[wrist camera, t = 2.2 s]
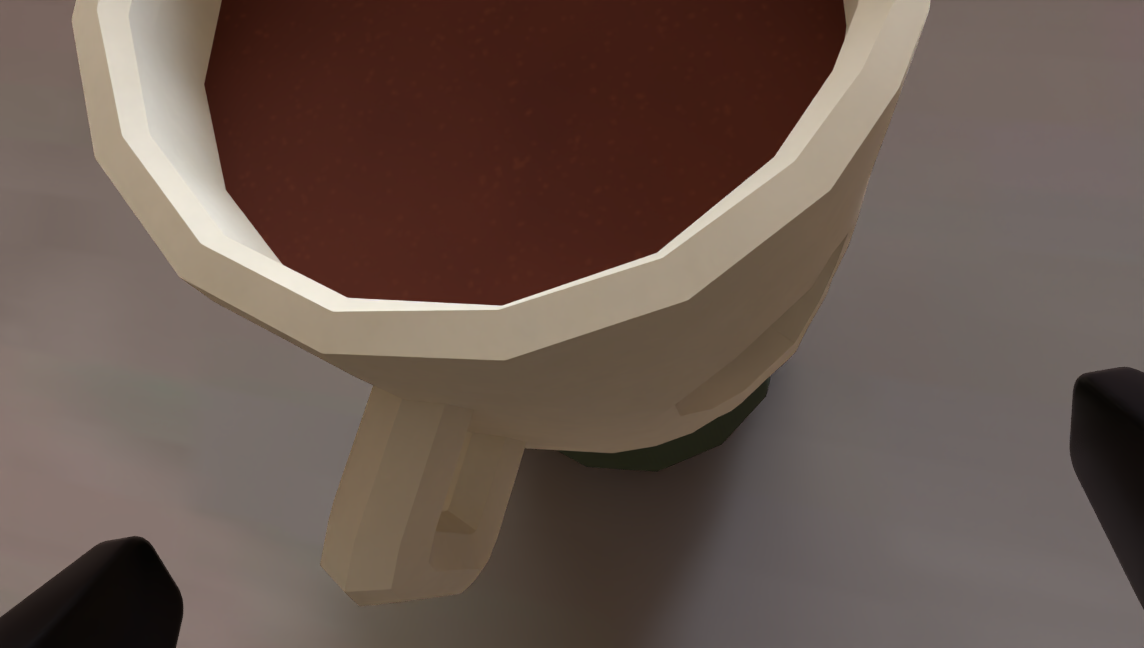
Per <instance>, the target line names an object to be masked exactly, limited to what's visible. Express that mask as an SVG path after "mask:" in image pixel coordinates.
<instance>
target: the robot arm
mask: <svg viewBox="0 0 1144 648" xmlns="http://www.w3.org/2000/svg"><path fill="white" fill-rule="evenodd" d="M1070 456H1071V460H1072V464H1073V467H1074V470H1075V473H1076V475H1077V477H1078V479H1079V481H1080V483H1081V485H1082V487H1083V489H1084V491H1085V493H1086V495H1087V497H1088V499H1089V501H1090V503H1091V505H1092V507H1093V509H1094V511H1095V513H1096V515H1097V517H1098V519H1099V521H1100V523H1101V525H1102V527H1103V529H1104V531H1105V533H1106V535H1107V537H1108V539H1109V541H1110V543H1111V545H1112V547H1113V549H1114V551H1115V554H1116V556H1117V558H1118V560H1119V562H1120V564H1121V566H1122V568H1123V570H1124V572H1125V574H1126V576H1127V578H1128V580H1129V582H1130V584H1131V586H1132V588H1133V590H1134V592H1135V594H1136V596H1137V598H1138V600H1139V601H1140V603H1141V605H1142V607H1143V609H1144V372H1141V371H1139V370H1136V369H1133V368H1130V367H1118V368H1112V369H1106V370H1101V371H1095V372H1089V373H1084V374H1082V375H1081V376H1080V377H1079V378H1077V380H1076V382H1075V384H1074V388H1073V400H1072V416H1071V432H1070ZM182 618H183V600H182V596H181V593H180V590H179V588H178V587H177V585H176V583H175V582H174V580H173V579H172V577H171V575H170V574H169V572H168V570H167V569H166V567H165V566H164V564H163V562H162V561H161V559H160V557H159V556H158V554H157V553H156V551H155V549H154V548H153V546H152V545H151V544H150V542H149V541H147V540H146V539H144V538H142V537H138V536H133V537H127V538H121V539H115V540H109V541H105V542H102V543H100V544H98V545H96V546H94V547H93V548H92V549H90V550H89V551H88V552H86V553H85V554H84V555H82V556H81V557H80V558H79V559H77V560H76V561H75V562H73V563H72V564H71V565H69V566H68V567H67V568H65V569H64V570H63V571H61V572H60V573H59V574H57V575H56V576H55V577H53V578H52V579H51V580H49V581H48V582H47V583H45V584H44V585H43V586H41V587H40V588H39V589H37V590H36V591H35V592H33V593H32V594H31V595H29V596H28V597H27V598H25V599H24V600H23V601H21V602H20V603H19V604H17V605H16V606H15V607H13V608H12V609H11V610H9V611H8V612H7V613H5V614H4V615H3V616H1V617H0V648H176V645H177V640H178V636H179V631H180V627H181V622H182Z"/></svg>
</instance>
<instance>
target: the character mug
mask: <svg viewBox="0 0 1144 648" xmlns="http://www.w3.org/2000/svg"><path fill="white" fill-rule="evenodd" d="M929 9H930V0H76V4H75V8H74V12H73V16H72V25H73V31H74V37H75V43H76V49H77V55H78V61H79V66H80V72H81V78H82V84H83V90H84V96H85V102H86V108H87V114H88V120H89V126H90V131H91V137H92V143H93V149H94V155H95V159H96V160H97V161H98V163H99V164H100V166H101V167H102V168H103V170H104V171H105V173H106V174H107V175H108V177H109V178H110V180H111V181H112V183H113V184H114V185H115V187H116V188H117V190H118V191H119V192H120V194H121V195H122V197H123V198H124V199H125V201H126V202H127V204H128V205H129V206H130V208H131V209H132V211H133V212H134V214H135V215H136V216H137V218H138V219H139V221H140V222H141V223H142V225H143V226H144V228H145V229H146V230H147V232H148V233H149V235H150V236H151V238H152V239H153V240H154V242H155V243H156V245H157V246H158V247H159V249H160V250H161V252H162V253H163V254H164V256H165V257H166V259H167V260H168V262H169V263H170V264H171V266H172V267H173V269H174V270H175V271H176V273H177V274H178V276H179V277H180V278H181V279H183V280H184V281H186V282H187V283H188V284H190V285H191V286H193V287H194V288H196V289H197V290H198V291H200V292H201V293H203V294H204V295H205V296H207V297H208V298H210V299H211V300H212V301H214V302H216V303H218V304H219V305H221V306H223V307H225V308H227V309H229V310H231V311H233V312H234V313H236V314H238V315H240V316H242V317H244V318H246V319H248V320H249V321H251V322H253V323H255V324H257V325H259V326H261V327H263V328H264V329H266V330H268V331H270V332H272V333H274V334H276V335H278V336H279V337H281V338H283V339H285V340H287V341H289V342H291V343H293V344H294V345H296V346H298V347H300V348H302V349H304V350H306V351H308V352H310V353H311V354H313V355H315V356H317V357H319V358H321V359H323V360H325V361H326V362H328V363H330V364H332V365H334V366H336V367H338V368H340V369H341V370H343V371H345V372H347V373H349V374H351V375H353V376H355V377H357V378H359V379H361V380H363V381H366V382H368V383H370V384H372V385H373V388H372V391H371V394H370V397H369V399H368V402H367V405H366V408H365V411H364V414H363V417H362V420H361V423H360V426H359V429H358V432H357V435H356V438H355V440H354V443H353V446H352V449H351V452H350V455H349V458H348V461H347V464H346V467H345V470H344V473H343V476H342V478H341V481H340V484H339V487H338V490H337V493H336V496H335V499H334V502H333V506H332V510H331V514H330V517H329V521H328V526H327V532H326V537H325V542H324V548H323V553H322V558H321V564H320V565H321V567H322V568H323V569H324V570H325V571H326V572H327V573H328V574H329V575H330V576H331V578H332V579H333V580H334V581H335V582H336V583H337V584H338V585H339V586H340V588H341V589H342V590H343V591H344V592H345V593H346V594H347V595H348V596H349V597H350V598H351V599H352V600H353V601H355V602H356V603H357V604H358V605H359V606H369V605H378V604H388V603H397V602H406V601H413V600H421V599H428V598H435V597H442V596H449V595H456V594H461V593H462V592H463V591H464V590H465V589H467V588H468V587H469V586H470V585H471V584H472V583H473V582H474V581H475V579H476V578H477V576H478V575H479V574H480V572H481V571H482V569H483V568H484V566H485V565H486V564H487V562H488V561H489V558H490V555H491V553H492V550H493V548H494V545H495V543H496V540H497V538H498V534H499V531H500V528H501V524H502V521H503V518H504V515H505V511H506V508H507V505H508V501H509V498H510V495H511V491H512V488H513V485H514V482H515V478H516V475H517V472H518V468H519V465H520V462H521V459H522V455H523V452H524V449H525V448H529V449H547V450H558V451H559V452H561V453H563V454H565V455H566V456H568V457H570V458H572V459H574V460H575V461H577V462H579V463H581V464H583V465H584V466H586V467H598V468H613V469H628V470H643V471H660V470H662V469H664V468H667V467H669V466H671V465H674V464H676V463H679V462H681V461H683V460H686V459H688V458H690V457H693V456H695V455H697V454H700V453H702V452H705V451H707V450H709V449H712V448H714V447H716V446H719V445H721V444H722V443H723V442H724V441H725V440H726V439H727V438H728V437H729V436H730V435H731V434H732V433H733V431H734V430H735V429H736V428H737V427H738V426H739V425H740V424H741V423H742V422H743V421H744V419H745V418H746V417H747V416H748V415H749V414H750V413H751V412H752V411H753V410H754V409H755V408H756V406H757V405H758V404H759V403H760V402H761V401H762V400H763V399H764V398H765V397H766V394H767V390H768V386H769V382H770V376H771V375H772V374H773V373H774V372H775V371H776V370H777V369H778V368H779V367H780V366H782V365H783V364H784V363H785V362H786V361H787V360H788V359H789V358H790V357H791V356H792V355H793V354H794V353H795V352H796V350H797V348H798V346H799V344H800V342H801V340H802V338H803V336H804V334H805V332H806V330H807V328H808V326H809V325H810V323H811V321H812V319H813V318H814V316H815V314H816V312H817V311H818V309H819V307H820V305H821V304H822V302H823V300H824V298H825V297H826V295H827V292H828V289H829V286H830V284H831V281H832V278H833V276H834V274H835V272H836V270H837V268H838V266H839V264H840V262H841V260H842V258H843V256H844V254H845V252H846V250H847V248H848V245H849V243H850V240H851V237H852V234H853V231H854V228H855V225H856V222H857V220H858V217H859V213H860V210H861V206H862V203H863V199H864V196H865V192H866V189H867V185H868V182H869V178H870V175H871V171H872V169H873V166H874V163H875V161H876V158H877V155H878V153H879V150H880V147H881V145H882V142H883V139H884V137H885V134H886V131H887V129H888V126H889V123H890V120H891V118H892V115H893V112H894V109H895V107H896V104H897V101H898V98H899V95H900V93H901V90H902V87H903V84H904V82H905V79H906V76H907V73H908V70H909V68H910V65H911V62H912V59H913V57H914V54H915V51H916V48H917V45H918V42H919V39H920V36H921V33H922V30H923V27H924V24H925V21H926V18H927V15H928V12H929Z"/></svg>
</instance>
